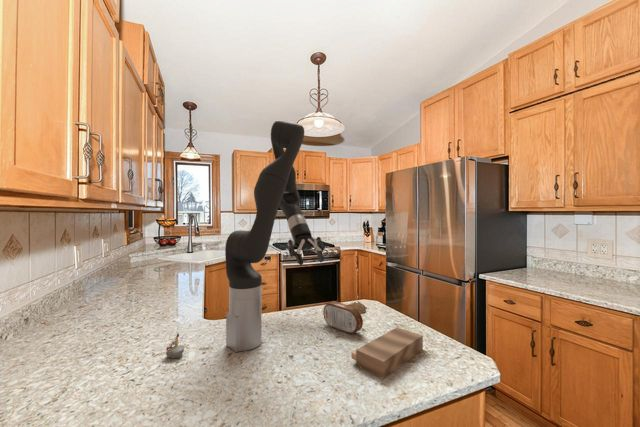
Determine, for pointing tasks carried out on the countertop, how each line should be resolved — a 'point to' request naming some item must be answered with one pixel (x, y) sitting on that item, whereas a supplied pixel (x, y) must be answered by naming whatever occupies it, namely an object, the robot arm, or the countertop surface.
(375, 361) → the walnut plank
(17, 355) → the countertop surface
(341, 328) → the tin
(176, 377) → the countertop surface
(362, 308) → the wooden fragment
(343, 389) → the countertop surface
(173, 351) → the figurine
